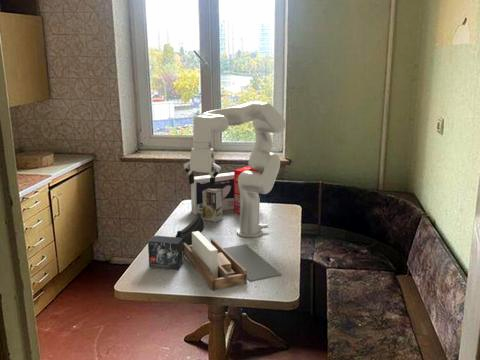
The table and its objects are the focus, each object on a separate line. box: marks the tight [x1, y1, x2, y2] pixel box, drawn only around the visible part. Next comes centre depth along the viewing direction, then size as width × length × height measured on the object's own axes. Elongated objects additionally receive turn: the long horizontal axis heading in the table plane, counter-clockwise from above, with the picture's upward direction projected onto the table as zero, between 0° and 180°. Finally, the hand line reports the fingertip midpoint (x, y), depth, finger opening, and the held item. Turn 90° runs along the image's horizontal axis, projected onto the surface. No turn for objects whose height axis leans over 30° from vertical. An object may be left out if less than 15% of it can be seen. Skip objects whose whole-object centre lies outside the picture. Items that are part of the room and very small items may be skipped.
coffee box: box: [202, 188, 224, 223], centre depth 254 cm, size 9×6×16 cm
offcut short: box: [218, 252, 231, 270], centre depth 195 cm, size 4×12×2 cm, turn 21°
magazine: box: [174, 213, 205, 245], centre depth 221 cm, size 17×3×30 cm
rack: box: [183, 238, 248, 291], centre depth 196 cm, size 14×36×6 cm, turn 24°
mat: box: [223, 244, 282, 282], centre depth 203 cm, size 14×34×1 cm, turn 24°
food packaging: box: [233, 165, 259, 216], centre depth 266 cm, size 15×5×25 cm, turn 141°
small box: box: [147, 235, 184, 271], centre depth 197 cm, size 13×7×12 cm, turn 80°
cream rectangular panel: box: [192, 231, 218, 279], centre depth 194 cm, size 3×22×13 cm, turn 24°
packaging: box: [190, 171, 234, 215], centre depth 270 cm, size 30×6×20 cm, turn 117°
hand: (201, 184), depth 204 cm, fingers open, 9 cm apart
